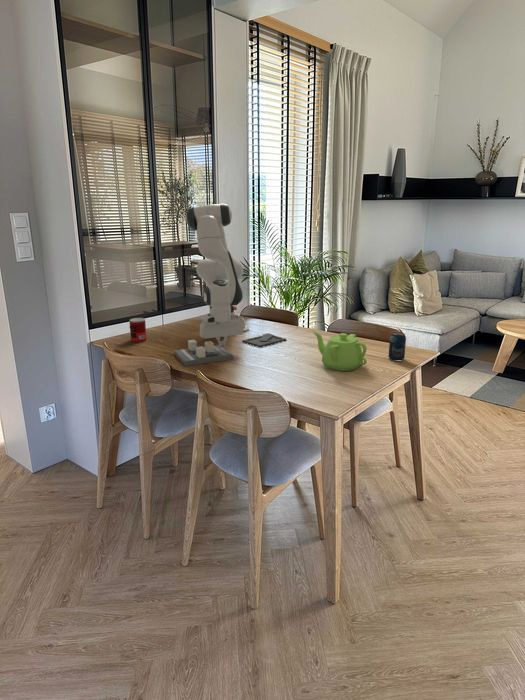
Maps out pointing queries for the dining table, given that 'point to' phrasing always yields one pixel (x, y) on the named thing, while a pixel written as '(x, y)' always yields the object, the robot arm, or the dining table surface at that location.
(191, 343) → the block
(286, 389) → the dining table surface
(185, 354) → the panel
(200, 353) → the breaker
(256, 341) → the picture frame
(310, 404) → the dining table surface
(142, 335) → the canned food
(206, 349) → the breaker mid
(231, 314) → the robot arm
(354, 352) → the teapot
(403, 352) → the soda can
